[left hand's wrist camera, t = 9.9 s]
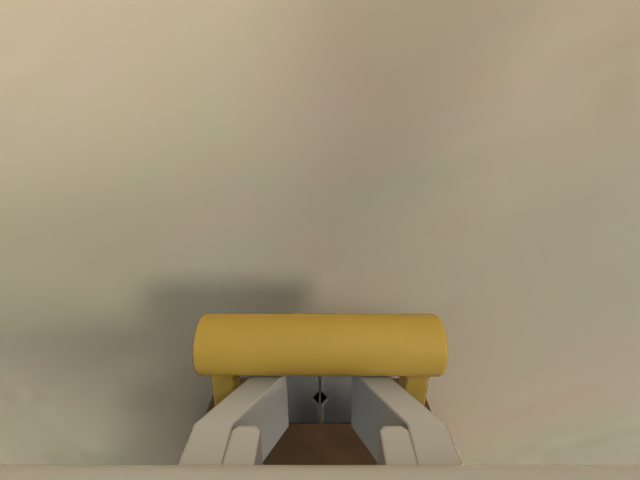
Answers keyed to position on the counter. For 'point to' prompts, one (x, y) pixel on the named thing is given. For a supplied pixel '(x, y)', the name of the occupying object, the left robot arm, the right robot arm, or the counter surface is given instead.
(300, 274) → the counter surface
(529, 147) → the counter surface
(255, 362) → the drawer
